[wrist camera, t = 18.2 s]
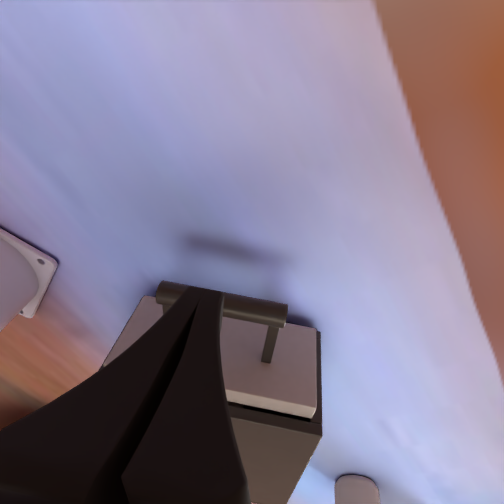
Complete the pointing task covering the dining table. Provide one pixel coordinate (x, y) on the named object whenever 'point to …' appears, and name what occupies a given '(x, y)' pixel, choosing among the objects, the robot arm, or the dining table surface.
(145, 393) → the robot arm
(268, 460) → the dark grey box
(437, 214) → the dining table surface
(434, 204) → the dining table surface
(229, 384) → the drawer
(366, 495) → the beverage can
